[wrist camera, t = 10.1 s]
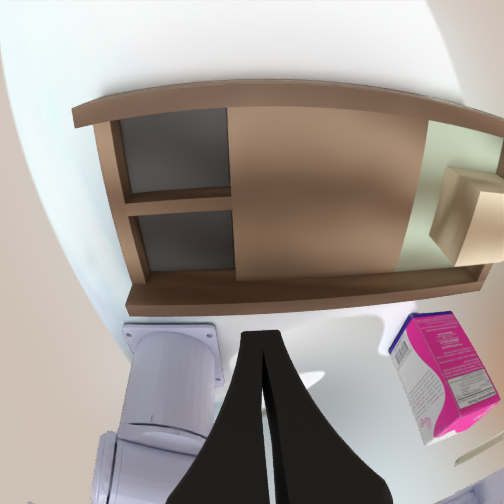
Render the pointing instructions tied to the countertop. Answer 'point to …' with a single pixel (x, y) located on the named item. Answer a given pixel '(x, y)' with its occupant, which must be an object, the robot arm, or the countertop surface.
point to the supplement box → (441, 375)
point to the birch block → (470, 217)
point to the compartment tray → (284, 193)
